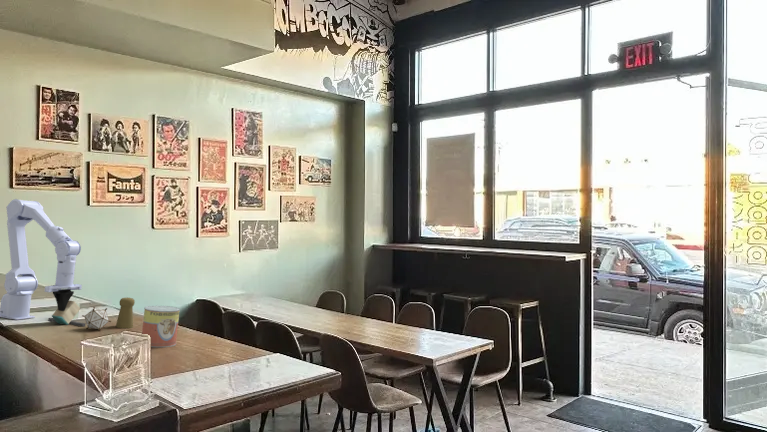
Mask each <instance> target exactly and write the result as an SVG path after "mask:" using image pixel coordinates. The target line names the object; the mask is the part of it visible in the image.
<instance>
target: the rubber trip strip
mask: <svg viewBox="0 0 767 432" xmlns="http://www.w3.org/2000/svg"><path fill="white" fill-rule="evenodd" d="M47 321H48V322H54V323H57V322H56V321H55V319H54V318H53V317H48V320H47ZM68 325H73V326H77V327H86V322H79V321H73V320H71V322H70V323H69V324H68Z"/></svg>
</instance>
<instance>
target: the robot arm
mask: <svg viewBox="0 0 767 432" xmlns="http://www.w3.org/2000/svg"><path fill="white" fill-rule="evenodd" d="M6 218H7V221H6V225H7V226H6V227H7V235H8V245H9V256H10V264H11V266H10V267H11V269H10V270H9V271H7V272H6V273H5V281H4V285H3V287H4V289H5V291H6V293H5V294H3V296H2V297H1V300H0V318H3V319H10V320H13V321H14V320H16V321H17V320H18V321H19V320H24V319H26V320H27V319H33V318H35V317H36V316H35V315H30V310H31V302H32V301H31V300H32V295H33V294H34V293H35V291H36V290H37V288H38V286H39V280H38V279H37V276H36V272H35V271H34V270H33V269H32V268H31V267H30V266H29V254H28V245H27V236H26V226H27V225H28V224H30V223H31V222H32V221H34V222H36V223H37V224H38V225H39V226H40V227H41V228H42V229H43V230H44V231H45V237H46V238H47V240H49V242H50V243H51V244H52V245H53V246H54V247H55V248H54V251H55V254H56V260H57V267H56V275H55V276H56V277H55V283H54V285H52V284H51V285H45V287H44V292H45V293H52V295H53V297H54V298H55V301H56V306H57V309H58V310H59V311H65V308H66V306H67V303H68V301H70V299H71V298H72V297H73V295H74V294H75V293H74V292H75V291H77V290H78V291H80V290H82V289H83V288H82V287H83V285H82V284H79V283H75V284H74V281H75V280H74V279H75V271H76V261H77V256H78V255H80V253H81V250H82V246H81V244H80V243H79V241H78V240H73V239H72V238H71V237H70V236H69V235H68V234H67V233H66V232H65V231H64V230H65V229H64V227H62V226H58V225H55V223H53V222H52V220H51V218H49V216H48V215H47V214H46V212H45V211H44V206H43V205H42V204H41V203H40V202H39V201H37V200H25V199H19V198H18V199H17V198H15V199H11V201H9V203H8V204H7V206H6Z"/></svg>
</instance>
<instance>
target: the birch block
mask: <svg viewBox="0 0 767 432" xmlns="http://www.w3.org/2000/svg"><path fill="white" fill-rule="evenodd" d="M75 302H76V301H74V300H69V301H68V303H67V306H66V308H65V311H59V310H58V308H57V309H56V310H55V311H54V312H53V314H51V318H54V319H55V321H56V322H55V323H57V324H60V325H66V326H68V325H70V324H69V323H70V322H71V321H73V320H74V319H73V318H74V316H75V315H76V314H77V313H78V311H79V312H80V310H81V308H80V307H81V306H80V307H79V306H78V305H77V304H76V303H77V302H76V303H75ZM72 319H73V320H72Z"/></svg>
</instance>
